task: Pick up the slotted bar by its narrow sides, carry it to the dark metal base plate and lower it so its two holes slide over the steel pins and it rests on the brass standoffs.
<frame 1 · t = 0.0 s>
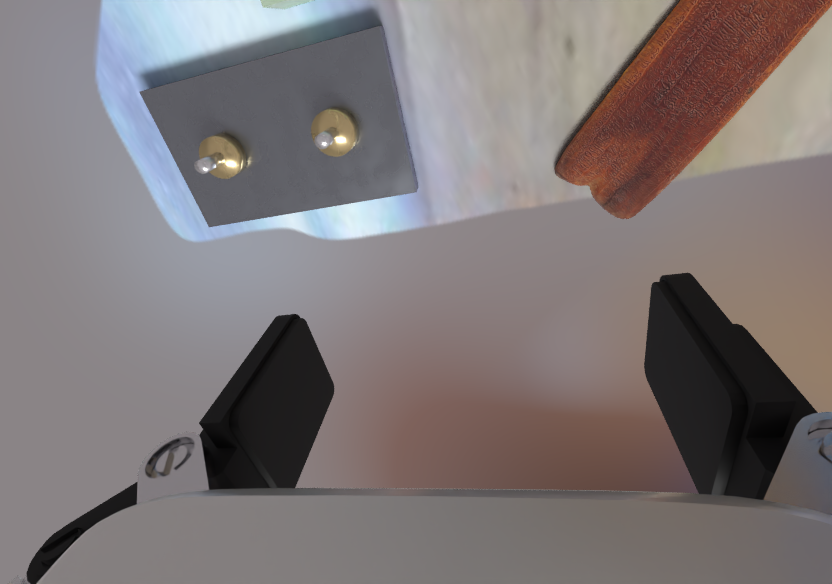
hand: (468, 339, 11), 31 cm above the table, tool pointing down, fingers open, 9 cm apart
wooden tablet: (702, 61, 33), on the table
base plate: (286, 139, 41), on the table
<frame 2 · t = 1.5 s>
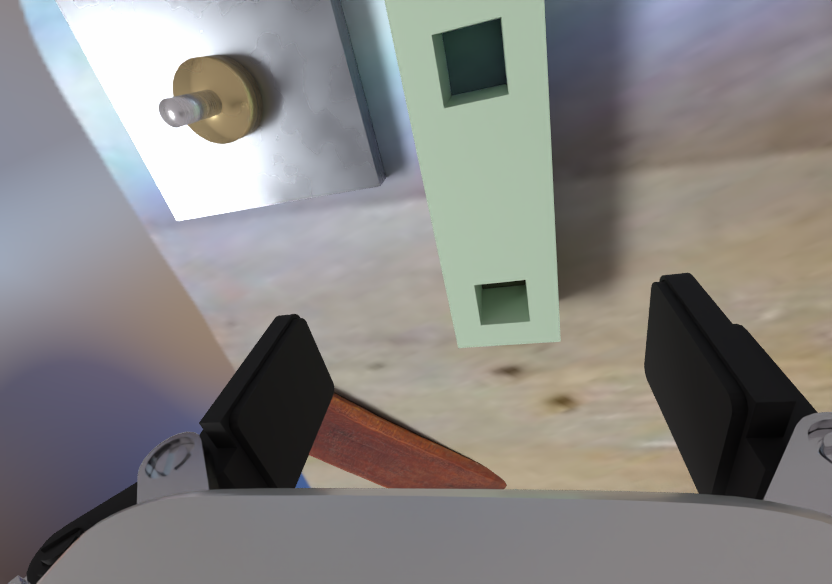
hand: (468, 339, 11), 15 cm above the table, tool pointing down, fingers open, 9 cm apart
wooden tablet: (374, 441, 39), on the table
slotted bar: (489, 177, 23), on the table
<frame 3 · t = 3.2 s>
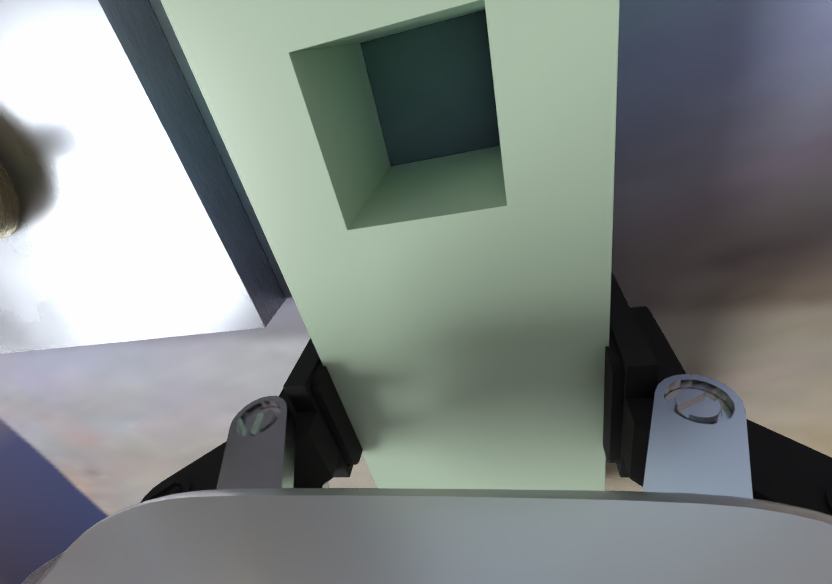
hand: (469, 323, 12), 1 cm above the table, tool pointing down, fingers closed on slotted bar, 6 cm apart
slotted bar: (470, 305, 13), on the table, touching gripper
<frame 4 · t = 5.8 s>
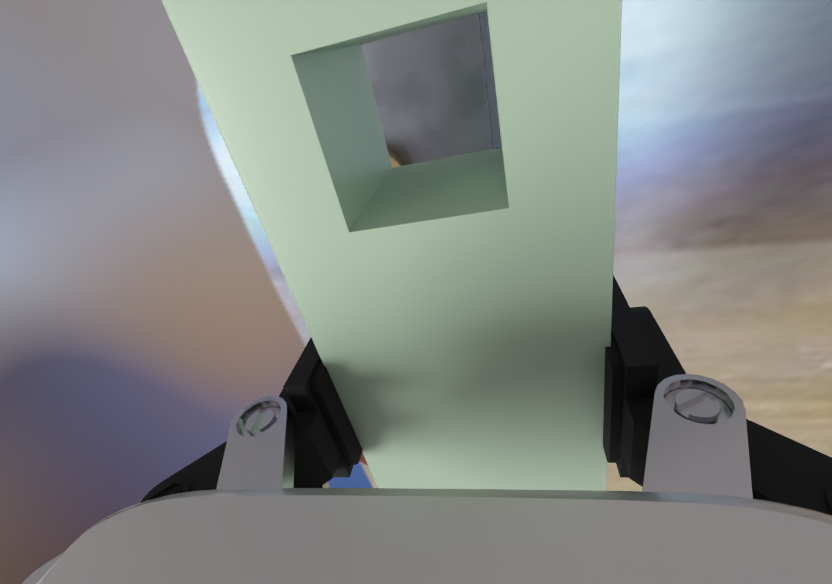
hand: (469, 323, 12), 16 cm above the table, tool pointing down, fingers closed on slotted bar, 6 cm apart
slotted bar: (471, 307, 13), point 15 cm above the table, touching gripper
base plate: (359, 68, 23), on the table
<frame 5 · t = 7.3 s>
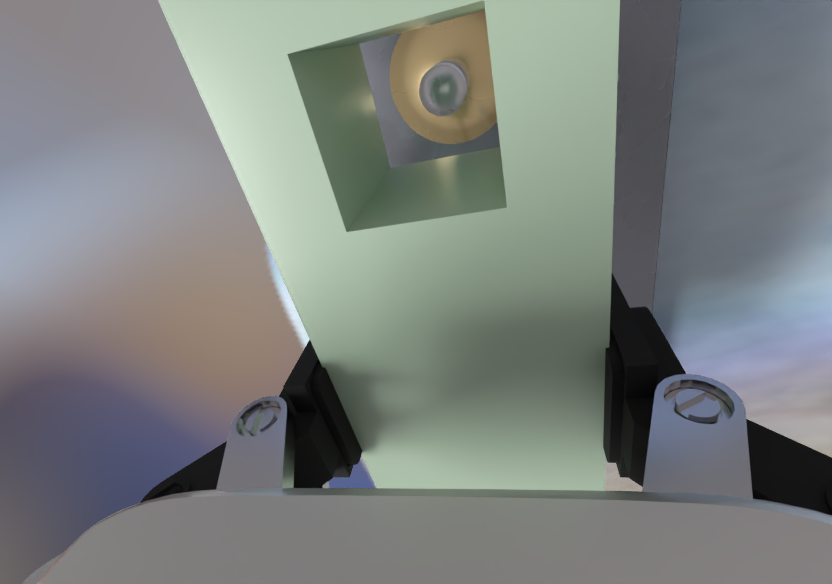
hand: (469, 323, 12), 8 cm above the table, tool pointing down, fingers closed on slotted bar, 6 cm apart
slotted bar: (470, 307, 13), point 7 cm above the table, touching gripper
base plate: (479, 217, 19), on the table
when the fingers open (5 cm above the table, at t = 8.4 s): slotted bar stays where it is, resting on base plate.
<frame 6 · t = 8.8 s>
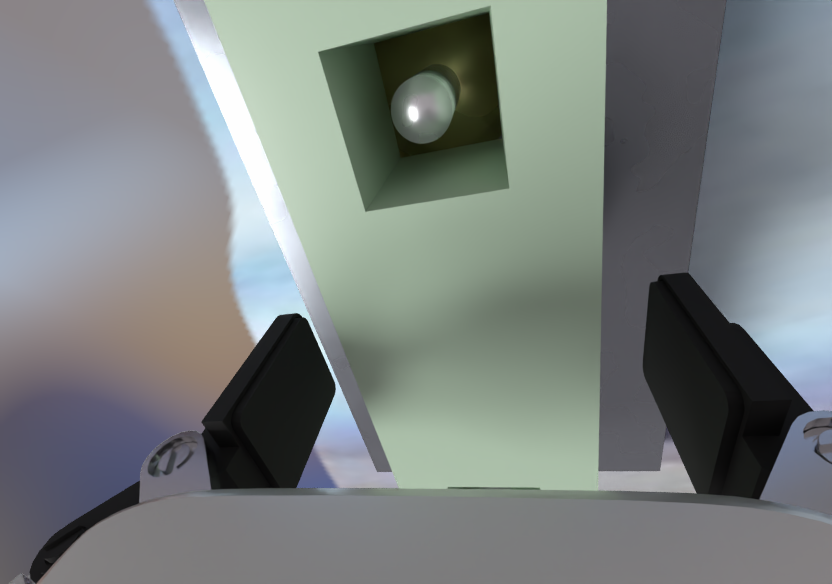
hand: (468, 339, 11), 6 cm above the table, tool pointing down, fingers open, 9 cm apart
slotted bar: (474, 290, 13), point 3 cm above the table, touching base plate
base plate: (473, 247, 16), on the table
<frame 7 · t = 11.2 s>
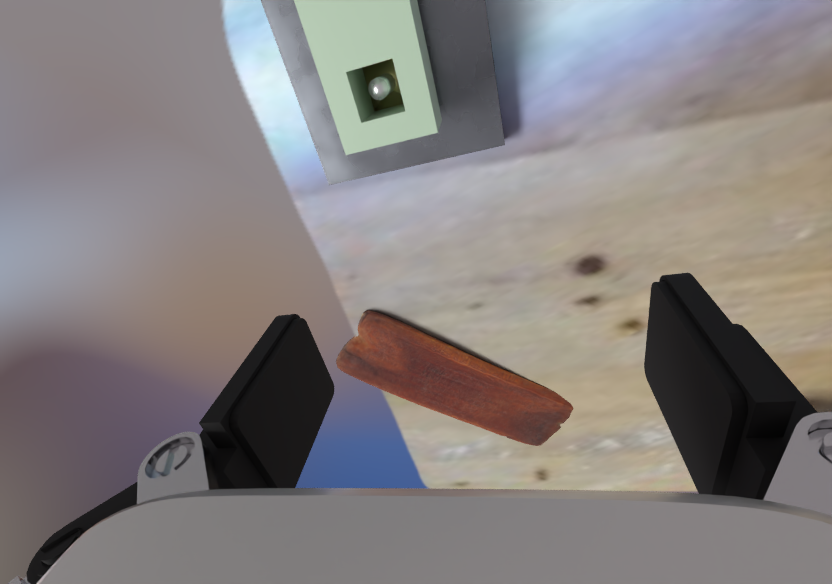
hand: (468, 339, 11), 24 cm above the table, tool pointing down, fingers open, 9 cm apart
wooden tablet: (457, 381, 46), on the table
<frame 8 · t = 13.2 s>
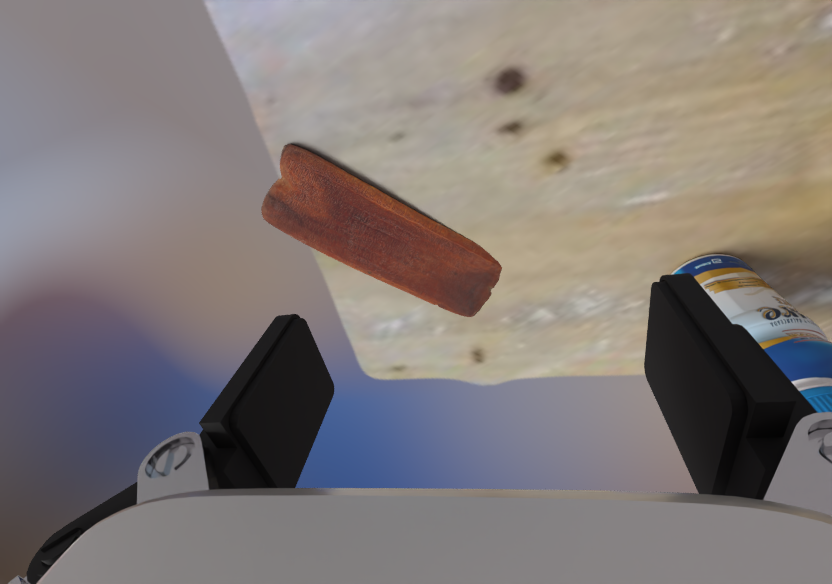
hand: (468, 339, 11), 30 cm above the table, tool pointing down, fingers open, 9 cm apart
wooden tablet: (386, 238, 45), on the table
beverage bottle: (702, 286, 42), on the table
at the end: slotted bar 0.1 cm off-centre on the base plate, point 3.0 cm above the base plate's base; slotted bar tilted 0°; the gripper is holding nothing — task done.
